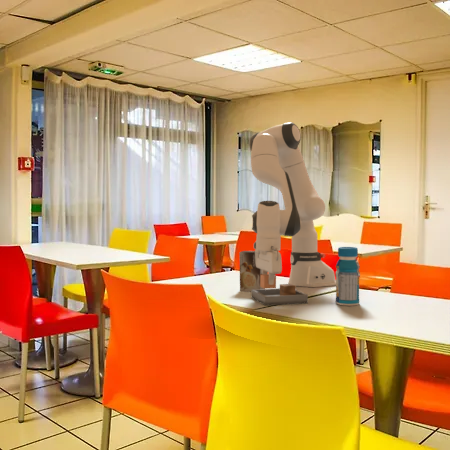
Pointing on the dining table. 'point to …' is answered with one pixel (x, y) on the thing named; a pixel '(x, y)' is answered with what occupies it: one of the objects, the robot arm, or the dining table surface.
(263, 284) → the terracotta block
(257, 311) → the dining table surface
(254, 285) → the coffee box
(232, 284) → the dining table surface
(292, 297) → the tray
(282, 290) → the walnut block
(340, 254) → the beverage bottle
